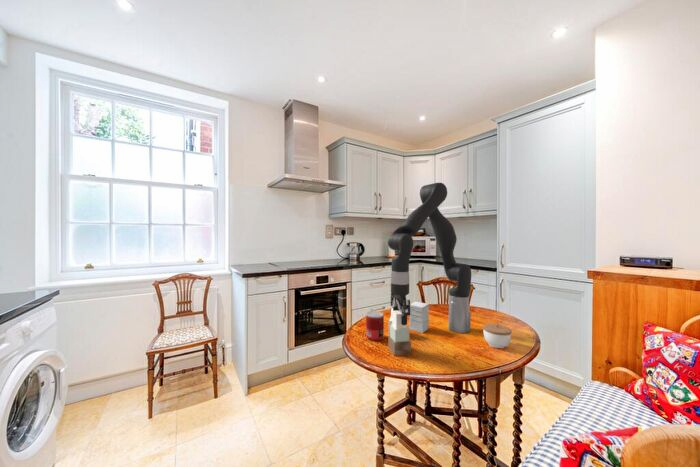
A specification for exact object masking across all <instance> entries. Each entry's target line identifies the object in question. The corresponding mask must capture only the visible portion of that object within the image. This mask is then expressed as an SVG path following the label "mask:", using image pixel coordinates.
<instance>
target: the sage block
mask: <svg viewBox="0 0 700 467" xmlns="http://www.w3.org/2000/svg"><path fill="white" fill-rule="evenodd" d="M389 336H390V337H391V338H392V339H393V340H394V342H405V341H409V340H410V329H409V326H407V328H405V329H396V328H395V327H394V326H393V325H392V324H391V325H390V335H389Z"/></svg>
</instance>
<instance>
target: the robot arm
mask: <svg viewBox="0 0 700 467" xmlns="http://www.w3.org/2000/svg"><path fill="white" fill-rule="evenodd" d="M419 197H420V201H421V203H422V204H420V205H419V206H418V207H417V208H415V209H414V210H412V212H411V213H410V214H409V215H408V216H407V217H406V219H405V220H404V222H403V223H402V224H401V225H400V226H398V228H396V229H395V230H393V231H392V232H391V233H390V235H389V237H388V240H387V246H388V247H389V249H391V250H393V251H399V253H398V255H396V256H393V257H392V258H391V272H390V307H391V309H393V311H397V310H398V309H397V308H399V310H400V311H401V324H402V325H407V326H408V316H409V315H410V304H411V299H407V295H409V294H410V272H409V271H410V259H411V256H412V251H413V248H414V239H413V237H414V236H416V235H417V233H418V232H419V230H420V229H422V228H421V227H422V226H423V224H424V223H425V222H426V221H427V219H429V222H430V224H431V227H432V231H433V234H434V237H435V240H436V243H437V245H438V248H439V252H440V255H441V258H442V259H441V260H442V264H443V268H444V273H445V275H446V277H447V279H448V280H450V281H454V282H457V283H456V284H457V285H456V287H450V288H449V290H448V329H449V330H450V331H451V332H455V333H459V334H466V333H469V332H471V324H472V323H471V318H472V316H471V315H472V314H471V313H472V312H471V311H470V292H471V287H472V286H471V285H472V268H471V266H470V265H469V264H466V263H460V262H457V261H456V259H455V256H454V249H455V247H456V245H457V235H456V231H455V228H454V225H453V224H452V223H451V222H450V220H449V219H447V218H446V216H444V214H442V213H441V211H440V209H439V206H441V204H442V203H443V202H445V200H446V199H447V197H448V188H447V186H446V184H444V183H442V182H434V183H430V184H426V185H425V184H424V185H423V186H421V188H420V190H419Z"/></svg>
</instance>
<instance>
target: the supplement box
mask: <svg viewBox="0 0 700 467" xmlns="http://www.w3.org/2000/svg"><path fill="white" fill-rule="evenodd" d="M429 310H430V304H429V303H425V302H419V301H414V302H412V303H410V315H408V316H409V317H408V318H409V324H408V328H409V330H410V331H414V332H418V333H421V334H423V333H425V332H426V331H427V330H429V324H430V323H429V322H430V320H429V319H430V316H429V315H430V312H429Z"/></svg>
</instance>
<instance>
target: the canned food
mask: <svg viewBox="0 0 700 467" xmlns="http://www.w3.org/2000/svg"><path fill="white" fill-rule="evenodd" d="M365 316H366V317H365V321H366V322H365V324H366V328H365V330H366V331H365V332H366V333H365V336H366V338H367V340H369V341H373V342H378V341H381V340H383V339H384V327H385V325H384V324H385V322H384V321H385V319H384V317H385V316H384V313H383V312H380V311H368V312H366V315H365Z"/></svg>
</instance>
